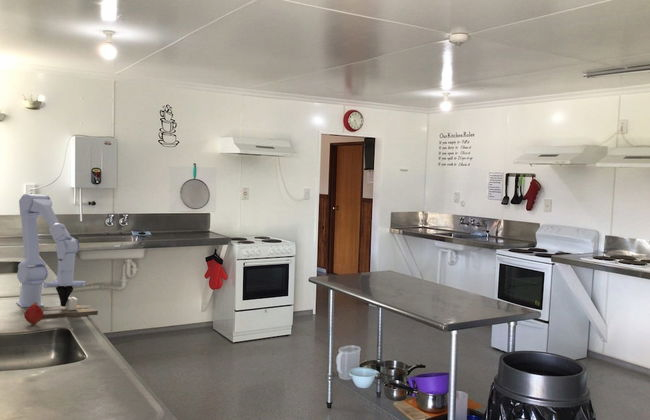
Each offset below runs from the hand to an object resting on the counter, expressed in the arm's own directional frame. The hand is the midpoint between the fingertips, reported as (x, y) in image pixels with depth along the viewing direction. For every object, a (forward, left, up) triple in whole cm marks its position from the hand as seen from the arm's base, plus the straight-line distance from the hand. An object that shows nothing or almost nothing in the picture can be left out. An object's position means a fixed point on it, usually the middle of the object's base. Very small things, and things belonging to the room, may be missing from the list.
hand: (63, 305), depth 213 cm
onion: (+14, -13, -3) cm, 20 cm away
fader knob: (0, +3, -1) cm, 3 cm away
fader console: (0, +1, -3) cm, 3 cm away
